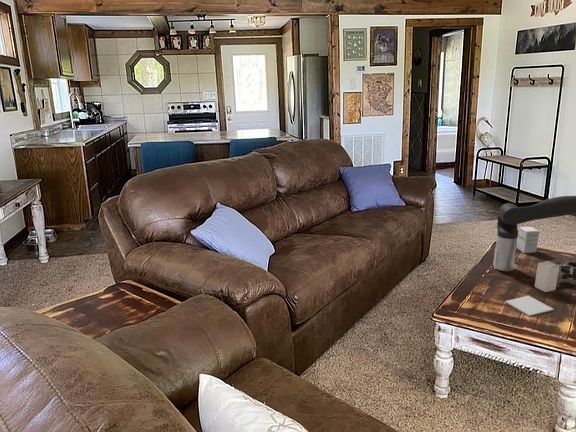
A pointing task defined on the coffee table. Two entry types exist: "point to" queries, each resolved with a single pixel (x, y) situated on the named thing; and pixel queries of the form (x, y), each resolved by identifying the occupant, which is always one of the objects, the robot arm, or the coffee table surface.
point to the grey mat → (529, 305)
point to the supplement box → (528, 239)
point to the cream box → (546, 276)
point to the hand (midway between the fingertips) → (554, 273)
